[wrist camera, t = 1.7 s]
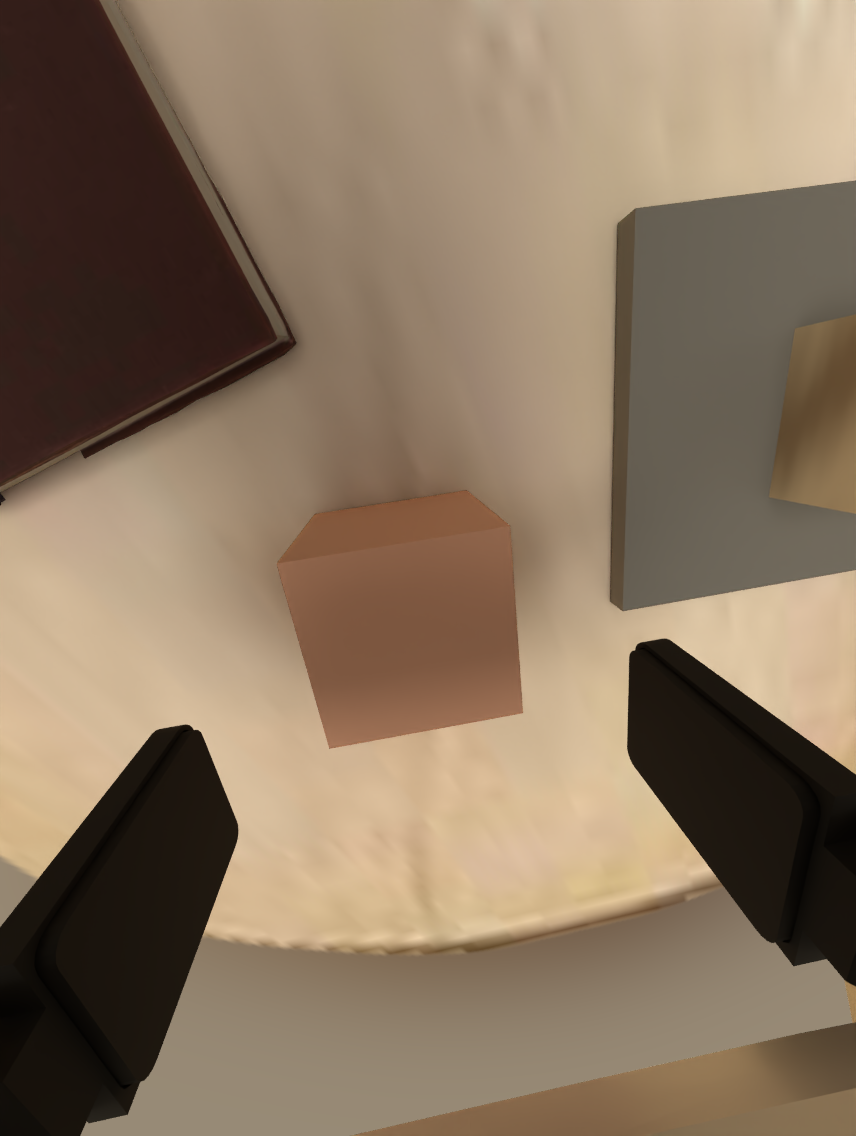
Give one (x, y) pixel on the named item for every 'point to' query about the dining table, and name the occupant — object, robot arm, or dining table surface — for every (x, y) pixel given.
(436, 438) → the dining table surface
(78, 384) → the book
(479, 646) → the terracotta block
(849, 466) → the maple block
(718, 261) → the plate
